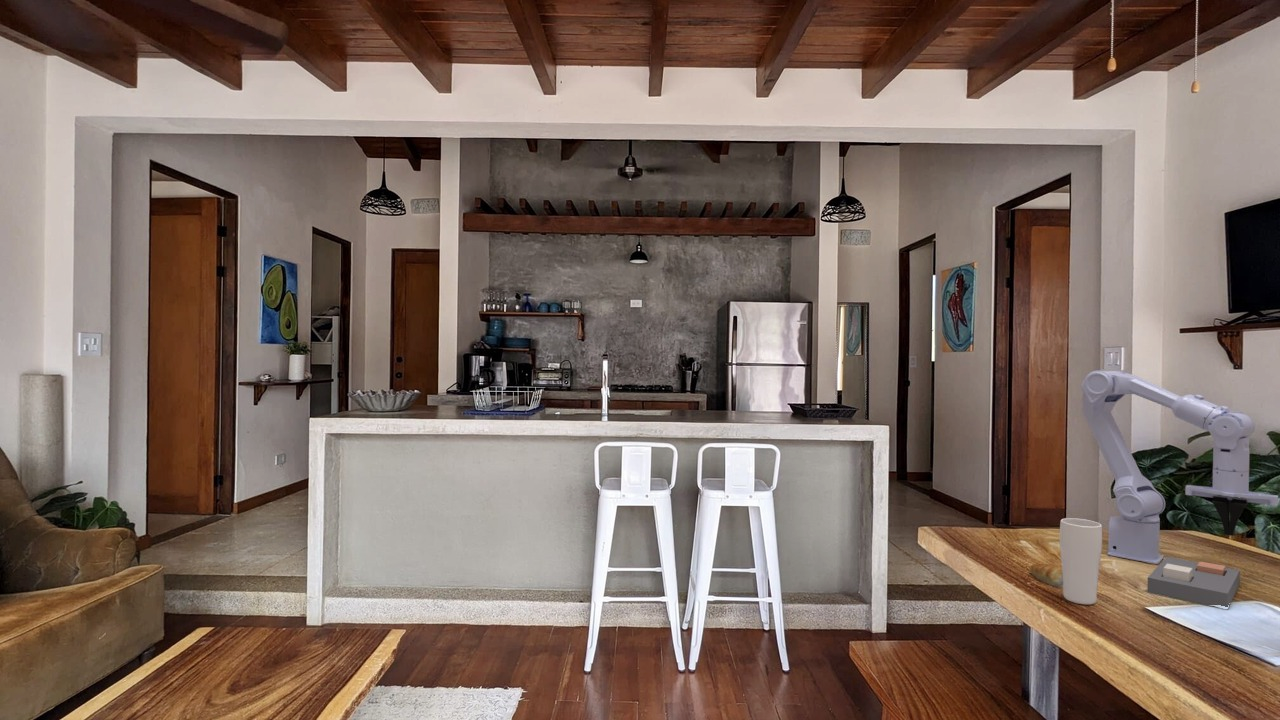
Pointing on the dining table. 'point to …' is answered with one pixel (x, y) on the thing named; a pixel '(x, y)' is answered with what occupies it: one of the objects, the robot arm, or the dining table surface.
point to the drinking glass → (1080, 559)
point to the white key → (1177, 572)
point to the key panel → (1195, 584)
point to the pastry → (1048, 574)
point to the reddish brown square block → (1211, 568)
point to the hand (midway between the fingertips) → (1229, 534)
